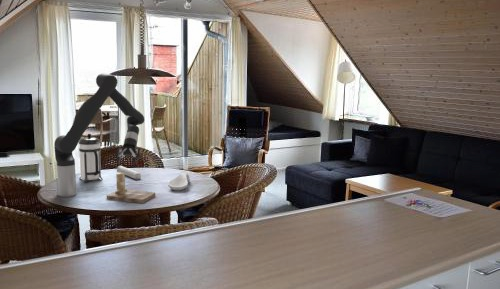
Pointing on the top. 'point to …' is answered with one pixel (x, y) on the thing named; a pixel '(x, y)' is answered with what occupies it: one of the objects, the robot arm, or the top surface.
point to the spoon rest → (179, 182)
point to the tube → (129, 172)
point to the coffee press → (90, 158)
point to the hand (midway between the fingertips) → (125, 163)
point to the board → (132, 196)
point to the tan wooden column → (120, 183)
